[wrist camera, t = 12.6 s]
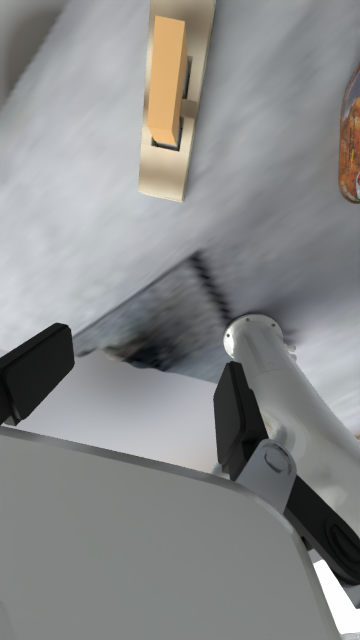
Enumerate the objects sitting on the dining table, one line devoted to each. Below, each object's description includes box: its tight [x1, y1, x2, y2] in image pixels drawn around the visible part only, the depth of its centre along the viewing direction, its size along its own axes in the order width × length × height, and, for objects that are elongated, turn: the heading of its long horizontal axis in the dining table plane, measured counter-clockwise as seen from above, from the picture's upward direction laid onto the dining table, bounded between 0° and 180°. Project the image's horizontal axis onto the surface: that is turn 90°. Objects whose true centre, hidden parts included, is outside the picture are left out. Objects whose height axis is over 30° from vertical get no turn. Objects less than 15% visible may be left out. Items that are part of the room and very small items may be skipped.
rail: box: [138, 0, 216, 202], centre depth 25 cm, size 20×7×3 cm, turn 169°
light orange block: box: [147, 15, 189, 152], centre depth 23 cm, size 8×3×8 cm, turn 169°
